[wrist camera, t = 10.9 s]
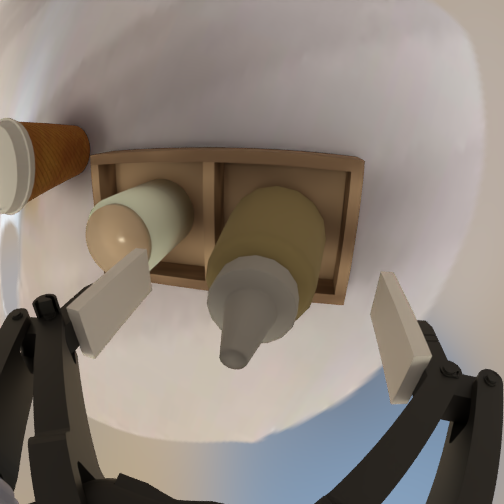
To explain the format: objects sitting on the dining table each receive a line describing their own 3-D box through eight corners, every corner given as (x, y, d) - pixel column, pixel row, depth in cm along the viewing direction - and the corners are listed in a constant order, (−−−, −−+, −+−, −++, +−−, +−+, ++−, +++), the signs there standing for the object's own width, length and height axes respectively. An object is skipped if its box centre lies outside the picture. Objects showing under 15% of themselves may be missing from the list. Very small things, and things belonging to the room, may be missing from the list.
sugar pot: (131, 178, 29) (76, 199, 21) (193, 179, 28) (148, 200, 20) (136, 242, 32) (89, 277, 24) (195, 247, 31) (157, 289, 23)
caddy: (112, 150, 29) (90, 155, 25) (356, 156, 25) (364, 160, 22) (122, 260, 34) (104, 274, 31) (340, 284, 30) (343, 305, 27)
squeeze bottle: (320, 264, 29) (318, 424, 13) (238, 257, 30) (161, 398, 14) (327, 180, 26) (352, 281, 9) (237, 176, 27) (126, 260, 11)
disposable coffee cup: (64, 99, 28) (-13, 104, 17) (113, 135, 28) (31, 148, 18) (39, 164, 31) (-31, 186, 20) (82, 203, 32) (10, 238, 21)
